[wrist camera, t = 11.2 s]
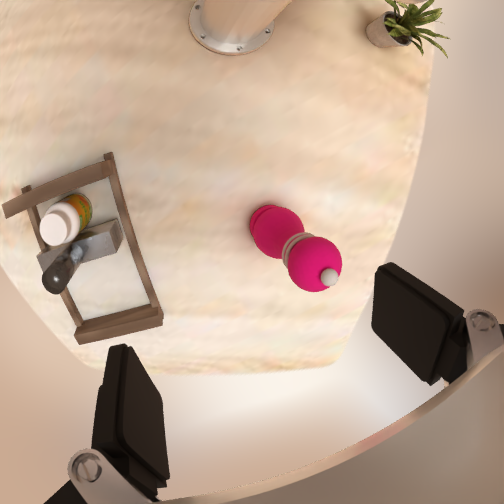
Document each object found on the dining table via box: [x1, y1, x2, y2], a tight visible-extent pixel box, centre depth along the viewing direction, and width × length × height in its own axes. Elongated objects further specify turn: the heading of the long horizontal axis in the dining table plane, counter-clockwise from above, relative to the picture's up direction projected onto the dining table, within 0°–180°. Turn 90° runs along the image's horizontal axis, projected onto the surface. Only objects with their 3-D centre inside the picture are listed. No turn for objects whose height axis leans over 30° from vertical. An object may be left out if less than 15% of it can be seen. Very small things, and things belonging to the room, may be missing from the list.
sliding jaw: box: [37, 219, 123, 294], centre depth 31 cm, size 3×12×14 cm, turn 101°
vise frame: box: [2, 152, 164, 345], centre depth 35 cm, size 27×16×8 cm, turn 10°
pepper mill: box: [250, 205, 342, 292], centre depth 36 cm, size 7×7×20 cm
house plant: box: [366, 0, 449, 58], centre depth 28 cm, size 14×14×16 cm
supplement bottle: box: [40, 194, 92, 246], centre depth 31 cm, size 5×5×10 cm
